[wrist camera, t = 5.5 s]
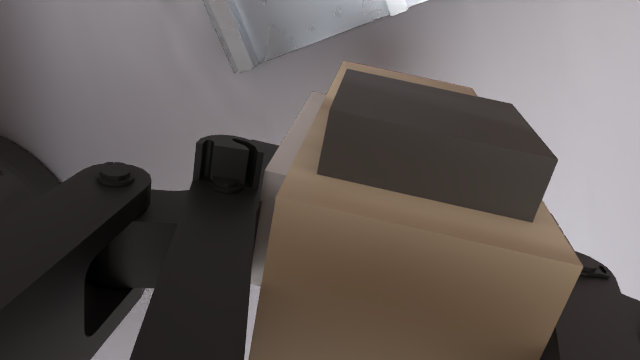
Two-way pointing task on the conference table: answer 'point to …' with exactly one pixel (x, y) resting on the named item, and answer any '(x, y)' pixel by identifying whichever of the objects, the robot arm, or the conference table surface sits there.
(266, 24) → the rail
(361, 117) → the tan box
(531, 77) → the conference table surface
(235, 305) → the robot arm
